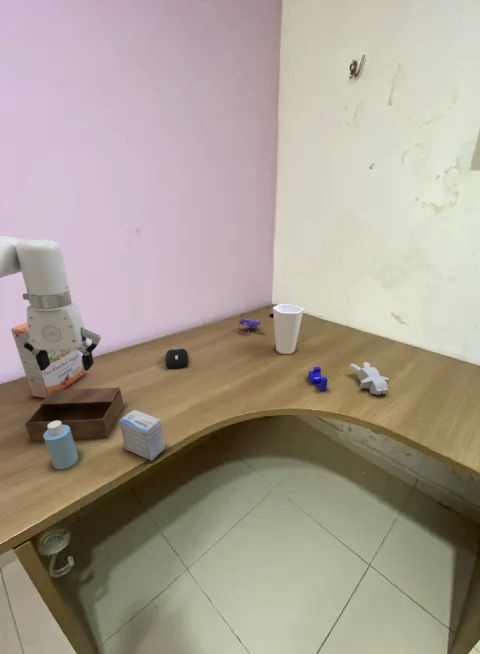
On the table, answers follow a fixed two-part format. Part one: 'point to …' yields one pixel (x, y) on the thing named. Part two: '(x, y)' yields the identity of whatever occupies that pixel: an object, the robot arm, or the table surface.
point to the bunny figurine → (371, 379)
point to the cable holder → (318, 378)
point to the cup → (286, 326)
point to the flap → (80, 396)
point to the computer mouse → (176, 358)
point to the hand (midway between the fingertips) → (67, 367)
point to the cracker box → (56, 375)
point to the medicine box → (142, 434)
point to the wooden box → (77, 418)
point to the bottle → (60, 445)
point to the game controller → (249, 323)
